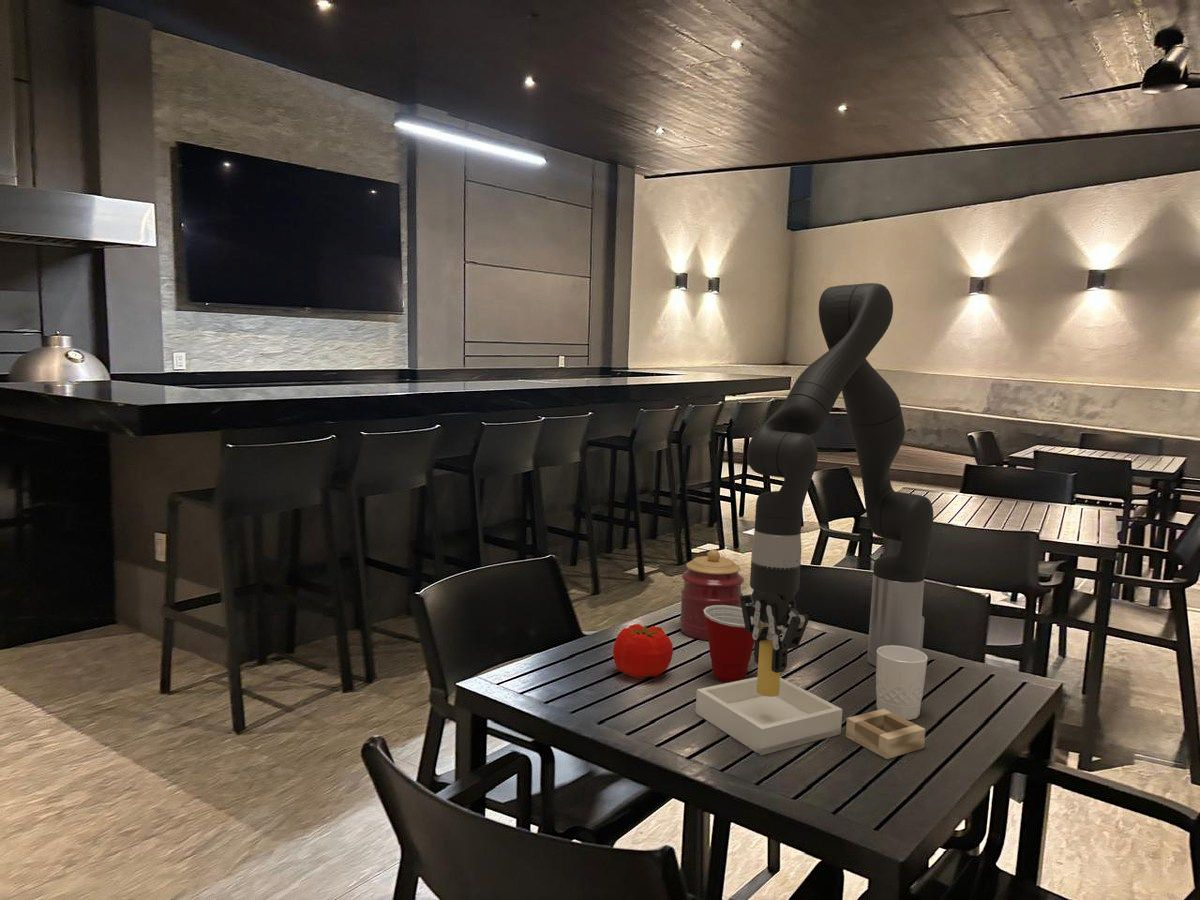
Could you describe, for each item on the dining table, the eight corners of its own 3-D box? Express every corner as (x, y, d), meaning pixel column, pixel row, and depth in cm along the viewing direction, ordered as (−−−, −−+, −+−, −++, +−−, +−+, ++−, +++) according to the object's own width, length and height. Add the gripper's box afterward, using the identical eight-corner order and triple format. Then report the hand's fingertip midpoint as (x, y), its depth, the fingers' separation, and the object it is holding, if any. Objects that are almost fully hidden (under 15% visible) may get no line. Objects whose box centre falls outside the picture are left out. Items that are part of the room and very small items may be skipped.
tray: (771, 696, 142) (772, 673, 142) (840, 734, 128) (842, 709, 128) (695, 713, 134) (696, 689, 134) (760, 755, 120) (762, 729, 120)
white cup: (899, 725, 132) (903, 665, 131) (862, 706, 139) (866, 649, 138) (933, 717, 136) (938, 658, 134) (896, 699, 143) (900, 642, 141)
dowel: (769, 686, 133) (771, 638, 132) (783, 694, 130) (786, 645, 129) (752, 690, 131) (754, 641, 130) (766, 698, 128) (769, 648, 127)
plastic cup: (760, 691, 144) (764, 624, 142) (697, 684, 146) (701, 618, 145) (761, 669, 154) (764, 606, 153) (702, 663, 156) (705, 601, 155)
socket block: (882, 726, 131) (883, 708, 131) (924, 748, 124) (925, 728, 124) (845, 736, 127) (846, 718, 127) (886, 759, 120) (888, 739, 120)
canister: (725, 646, 166) (729, 560, 164) (668, 633, 173) (671, 550, 171) (750, 630, 177) (755, 549, 175) (696, 618, 184) (699, 540, 182)
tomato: (681, 682, 147) (683, 634, 146) (623, 688, 143) (625, 639, 142) (657, 661, 157) (659, 616, 156) (603, 666, 153) (604, 621, 152)
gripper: (826, 568, 124) (819, 679, 126) (764, 548, 136) (758, 649, 138) (788, 573, 120) (781, 687, 122) (728, 552, 132) (722, 656, 134)
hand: (769, 666), depth 130 cm, fingers closed on dowel, 3 cm apart
